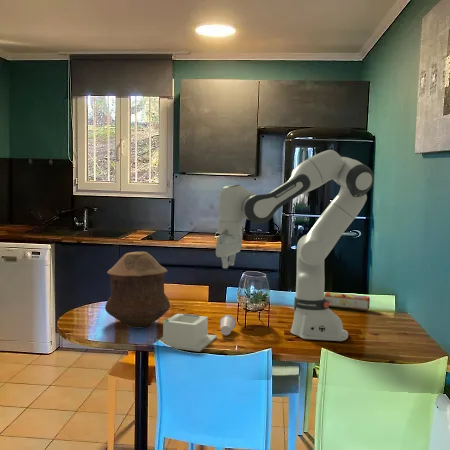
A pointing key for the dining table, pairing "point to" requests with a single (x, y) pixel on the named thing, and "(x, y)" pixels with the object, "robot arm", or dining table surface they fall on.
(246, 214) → the robot arm
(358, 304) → the snack package
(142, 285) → the pottery vessel
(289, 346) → the dining table surface
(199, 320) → the socket dock
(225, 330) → the smoothie
